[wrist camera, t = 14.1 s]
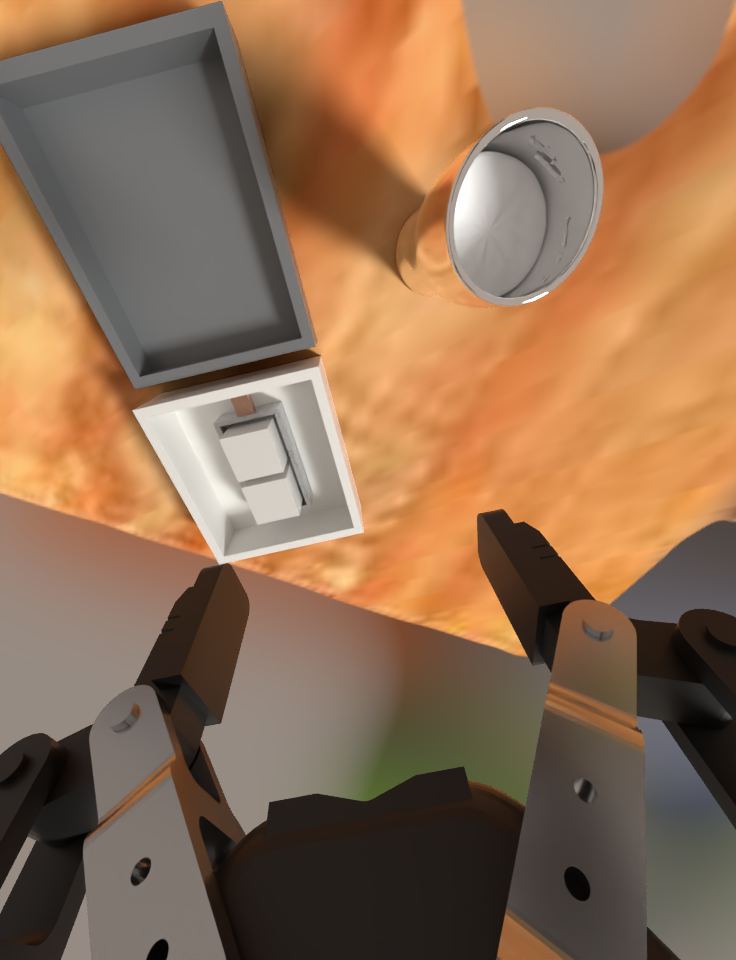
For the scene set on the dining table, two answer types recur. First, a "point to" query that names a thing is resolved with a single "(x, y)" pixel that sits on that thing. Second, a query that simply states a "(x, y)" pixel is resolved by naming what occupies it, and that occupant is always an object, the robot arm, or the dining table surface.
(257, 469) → the light grey cube block
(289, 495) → the off-white cube
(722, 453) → the dining table surface
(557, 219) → the silver metal goblet
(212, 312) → the tray
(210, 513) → the bin
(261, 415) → the scoop
